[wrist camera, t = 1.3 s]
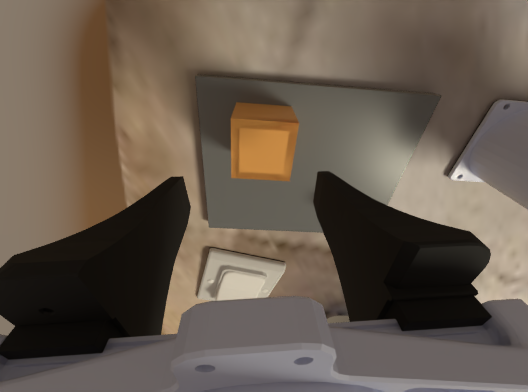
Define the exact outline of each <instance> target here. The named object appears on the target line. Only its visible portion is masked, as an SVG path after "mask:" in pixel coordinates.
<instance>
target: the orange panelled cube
mask: <svg viewBox="0 0 528 392" xmlns="http://www.w3.org/2000/svg"><path fill="white" fill-rule="evenodd" d="M298 128H299V122H298V119H297V117H296V115H295V113H294V111H293V108H292V106H280V105H267V104H253V103H240V102H236V105H235V108H234V111H233V113H232V116H231V178H240V179H258V180H275V181H290V176H291V170H292V164H293V158H294V152H295V146H296V140H297V134H298Z"/></svg>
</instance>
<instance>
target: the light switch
mask: <svg viewBox="0 0 528 392" xmlns="http://www.w3.org/2000/svg"><path fill="white" fill-rule="evenodd" d="M285 268H286V263H285V262H280V261H275V260H270V259H265V258H260V257H255V256H250V255H245V254H240V253H235V252H231V251H226V250H221V249H216V248H210V250H209V254H208V258H207V261H206V265H205V269H204V273H203V276H202V280H201V284H200V287H199V291H198V295H197V298H198V299H204V300H211V301H219V300H234V299H250V298H266V297H268V296H269V294H270V293H271V291H272V290H273V288H274V287H275V285H276V284H277V282H278V281H279V279H280V278H281V276H282V275H283V273H284V271H285Z"/></svg>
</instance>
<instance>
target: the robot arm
mask: <svg viewBox="0 0 528 392" xmlns="http://www.w3.org/2000/svg"><path fill="white" fill-rule="evenodd" d="M505 105H506V106H505ZM504 106H505V107H504ZM448 178H449V179H451V180H457V181H474V182H486V183H487V184H489V185H490V186H492V187H494V188H495V189H497V190H498V191H500V192H501V193H503V194H504V195H506V196H507V197H509V198H511V199H512V200H514V201H515V202H517V203H518V204H520V205H521V206H523V207H525V208H526V209H528V102H527V101H515V100H503V99H501V100H498V101H496V102H495V103H494V104H493V105H492V107H491V108H490V110H489V111H488V113H487V115H486V116H485V118H484V119H483V121H482V123H481V124H480V126H479V127H478V129H477V130H476V132H475V134H474V135H473V137H472V138H471V140H470V142H469V143H468V145H467V146H466V148H465V150H464V151H463V153H462V154H461V156H460V158H459V159H458V161H457V162H456V164H455V165H454V167H453V169H452V170H451V172H450V173H449V175H448ZM313 204H314V208H315V212H316V215H317V218H318V221H319V223H320V226H321V228H322V230H323V233H324V235H325V237H326V240H327V242H328V245H329V247H330V249H331V252H332V255H333V258H334V261H335V265H336V268H337V271H338V275H339V279H340V282H341V286H342V290H343V294H344V298H345V302H346V306H347V311H348V315H349V320H350V322H341V323H327V319H326V316H325V312H324V309H323V305H321V304H320V303H318V302H316V301H314V300H312V299H311V298H309V297H300V296H282V297H266V298H250V299H234V300H219V301H209V302H205V303H200V304H196V305H194V306H193V307H191V308H190V309H189V310H187V311H186V312H184V313H183V314H182V316H181V320H180V325H179V329H178V333H177V334H168V335H161V331H162V324H163V318H164V312H165V306H166V300H167V295H168V290H169V285H170V280H171V275H172V271H173V266H174V263H175V259H176V256H177V253H178V250H179V247H180V244H181V242H182V239H183V236H184V233H185V230H186V227H187V224H188V219H189V214H190V208H191V206H190V202H189V198H188V194H187V190H186V186H185V182H184V178H183V177H170V178H169V179H167V180H166V181H164V182H163V183H162V184H160V185H159V186H158V187H156V188H155V189H154V190H152V191H151V192H150V193H148V194H147V195H146V196H144V197H143V198H141V199H140V200H138V201H137V202H135V203H134V204H132V205H131V206H129V207H128V208H126V209H125V210H123V211H121V212H120V213H118V214H116V215H114V216H112V217H110V218H109V219H107V220H105V221H103V222H100V223H98V224H96V225H94V226H92V227H90V228H88V229H86V230H83V231H81V232H79V233H76V234H74V235H71V236H69V237H66V238H64V239H61V240H59V241H56V242H53V243H50V244H47V245H45V246H41V247H38V248H35V249H32V250H29V251H26V252H23V253H20V254H17V255H14V256H12V257H11V258H10V259H9V260H8V261H7V262H6V263H5V264H4V265H3V266H2V267H1V268H0V315H1V316H3V317H4V318H5V319H7V320H8V321H9V322H11V323H12V324H13V325H15V327H14V329H13V330H12V331H11V332H10V334H9V335H8V336H6V335H1V334H0V392H528V305H527V304H526V303H525V302H523V301H522V300H521V299H506V300H492V301H487V302H485V303H482V304H481V303H480V302H479V301H478V300H477V299H476V298H475V296H476V295H477V294H478V291H477V290H476V289H475V287H474V286H473V285H472V284H471V283H472V282H473V281H474V279H475V278H476V277H477V276H478V275H479V274H480V273H481V272H482V271H483V269H484V268H485V267H486V266H487V264H488V263H489V260H490V256H491V253H490V249H489V248H488V247H487V246H486V245H484V244H483V243H482V242H481V241H480V240H479V239H478V238H477V237H476V236H475V235H473V234H472V233H471V232H470V231H465V230H461V229H457V228H453V227H449V226H445V225H441V224H437V223H434V222H431V221H427V220H424V219H421V218H418V217H415V216H412V215H409V214H407V213H404V212H401V211H399V210H396V209H394V208H392V207H389V206H387V205H385V204H383V203H381V202H379V201H377V200H375V199H373V198H371V197H369V196H368V195H366V194H364V193H362V192H361V191H359V190H357V189H356V188H354V187H353V186H351V185H350V184H348V183H347V182H345V181H344V180H342V179H341V178H339V177H338V176H336V175H335V174H333V173H331V172H330V171H318V172H317V179H316V185H315V192H314V199H313Z"/></svg>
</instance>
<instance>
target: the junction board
mask: <svg viewBox="0 0 528 392" xmlns="http://www.w3.org/2000/svg"><path fill="white" fill-rule="evenodd" d="M195 79H196V90H197V101H198V112H199V123H200V134H201V146H202V157H203V168H204V179H205V190H206V201H207V212H208V223H209V227H210V228H232V229H254V230H276V231H298V232H321V233H323V230H322V228H321V226H320V223H319V221H318V218H317V215H316V212H315V208H314V204H313V199H314V192H315V185H316V179H317V172H318V171H330V172H331V173H333V174H335V175H336V176H338V177H339V178H341V179H342V180H344V181H345V182H347V183H348V184H350V185H351V186H353V187H354V188H356V189H357V190H359V191H361V192H362V193H364V194H366V195H368V196H369V197H371V198H373V199H375V200H377V201H379V202H381V203H383V204H385V205H388V203H389V201H390V199H391V197H392V195H393V193H394V191H395V189H396V187H397V185H398V183H399V181H400V179H401V177H402V175H403V173H404V171H405V169H406V166H407V164H408V162H409V160H410V158H411V156H412V154H413V152H414V150H415V148H416V146H417V144H418V142H419V140H420V138H421V136H422V134H423V132H424V130H425V128H426V126H427V124H428V122H429V120H430V118H431V116H432V114H433V112H434V110H435V108H436V106H437V104H438V102H439V100H440V98H441V96H440V95H437V94H434V93H422V92H410V91H398V90H385V89H373V88H361V87H349V86H336V85H324V84H312V83H299V82H287V81H275V80H263V79H250V78H238V77H226V76H214V75H201V74H198V75H196V76H195ZM236 102H240V103H253V104H267V105H280V106H292V108H293V111H294V113H295V115H296V117H297V119H298V122H299V128H298V134H297V140H296V146H295V152H294V158H293V164H292V170H291V176H290V181H275V180H258V179H240V178H231V116H232V113H233V111H234V108H235V105H236Z"/></svg>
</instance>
